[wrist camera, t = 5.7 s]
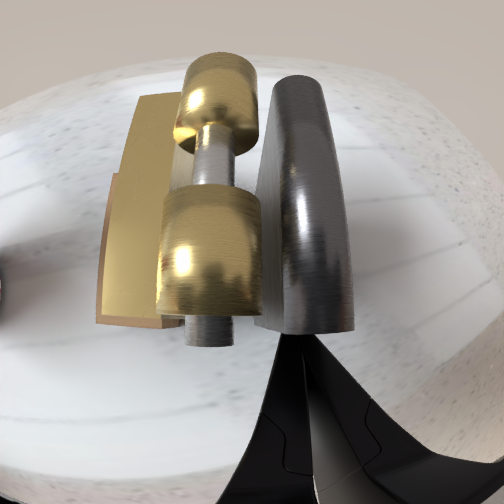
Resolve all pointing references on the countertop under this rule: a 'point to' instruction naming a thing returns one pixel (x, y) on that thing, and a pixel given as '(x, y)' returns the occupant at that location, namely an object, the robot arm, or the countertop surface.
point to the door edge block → (99, 317)
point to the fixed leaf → (188, 207)
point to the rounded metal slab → (303, 217)
